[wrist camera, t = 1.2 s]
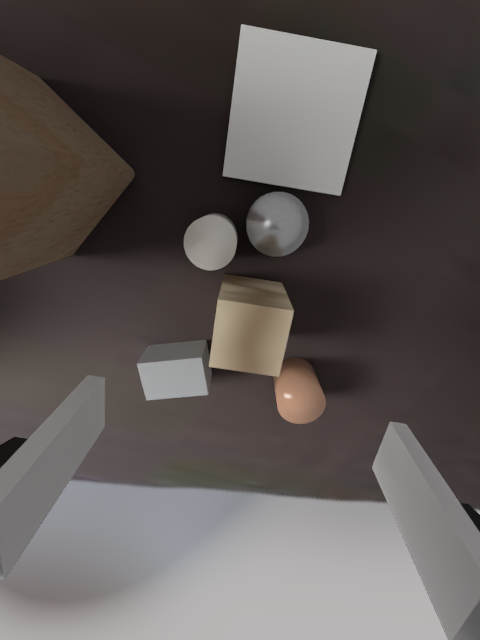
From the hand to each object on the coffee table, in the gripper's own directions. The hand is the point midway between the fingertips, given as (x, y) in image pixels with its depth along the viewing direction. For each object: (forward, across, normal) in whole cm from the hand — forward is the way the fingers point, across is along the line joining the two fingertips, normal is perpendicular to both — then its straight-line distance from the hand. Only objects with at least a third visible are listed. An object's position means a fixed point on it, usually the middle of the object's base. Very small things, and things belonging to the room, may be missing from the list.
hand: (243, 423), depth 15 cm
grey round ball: (+18, +1, +8) cm, 19 cm away
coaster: (+17, +1, +16) cm, 24 cm away
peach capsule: (+18, +6, -7) cm, 20 cm away
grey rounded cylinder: (+17, -4, +6) cm, 19 cm away
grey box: (+18, -6, -7) cm, 20 cm away
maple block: (+18, 0, 0) cm, 18 cm away
